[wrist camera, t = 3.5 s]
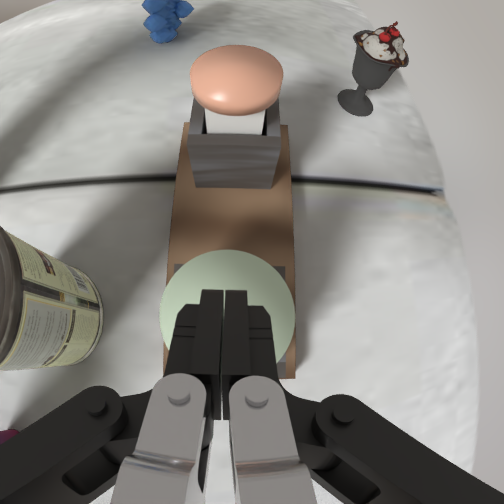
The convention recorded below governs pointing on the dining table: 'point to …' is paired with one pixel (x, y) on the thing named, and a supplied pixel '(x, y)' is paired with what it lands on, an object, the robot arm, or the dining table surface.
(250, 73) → the button
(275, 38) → the dining table surface
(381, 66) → the sundae
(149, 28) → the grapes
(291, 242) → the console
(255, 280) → the button
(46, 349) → the coffee can
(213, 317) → the robot arm
